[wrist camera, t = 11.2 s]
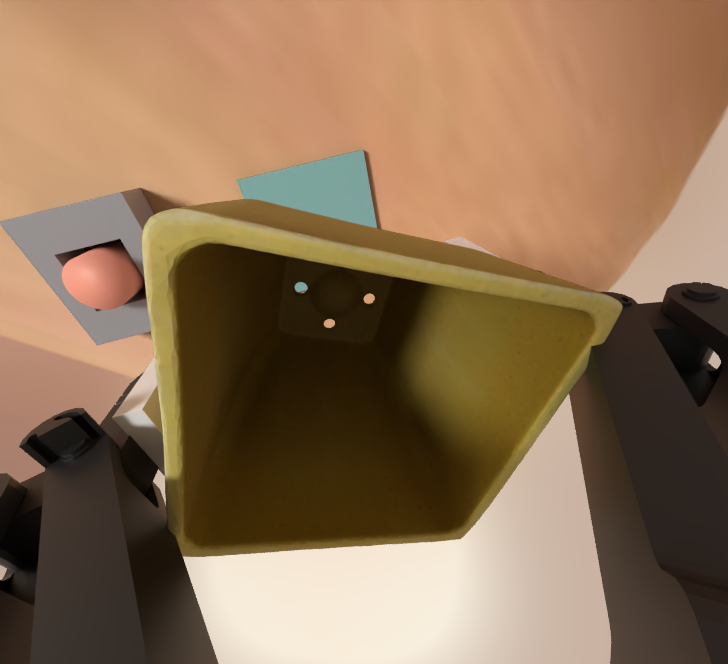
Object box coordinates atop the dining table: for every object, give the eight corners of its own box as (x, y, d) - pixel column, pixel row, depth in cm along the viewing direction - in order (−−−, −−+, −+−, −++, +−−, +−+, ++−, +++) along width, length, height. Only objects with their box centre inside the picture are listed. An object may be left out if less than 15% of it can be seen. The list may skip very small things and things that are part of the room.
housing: (31, 214, 23) (-2, 221, 20) (140, 187, 23) (120, 192, 21) (115, 327, 28) (97, 345, 26) (203, 304, 29) (193, 319, 26)
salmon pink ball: (82, 248, 24) (47, 264, 21) (134, 235, 24) (107, 249, 21) (114, 294, 26) (87, 315, 23) (161, 282, 26) (141, 301, 23)
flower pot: (395, 376, 18) (466, 545, 10) (232, 361, 16) (165, 566, 8) (451, 219, 14) (638, 302, 6) (244, 166, 12) (132, 197, 4)
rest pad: (238, 180, 24) (237, 180, 24) (362, 149, 25) (363, 149, 24) (281, 295, 29) (281, 296, 29) (383, 268, 30) (384, 269, 30)
